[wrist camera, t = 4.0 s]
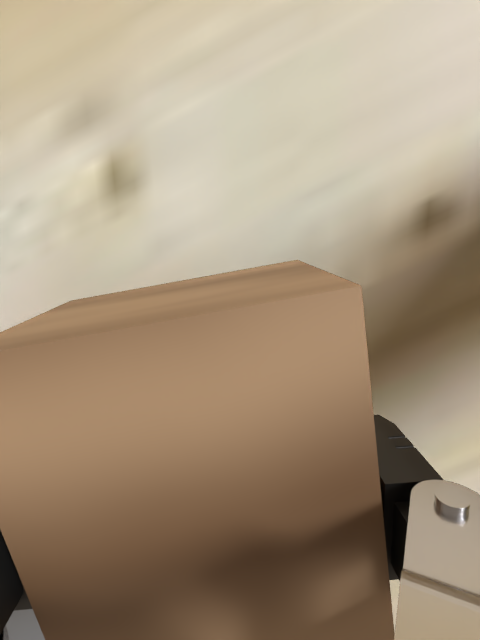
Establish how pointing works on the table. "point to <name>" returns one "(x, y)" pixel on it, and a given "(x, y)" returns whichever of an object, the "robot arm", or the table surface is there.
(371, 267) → the table surface
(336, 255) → the table surface
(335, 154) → the table surface
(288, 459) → the walnut block
